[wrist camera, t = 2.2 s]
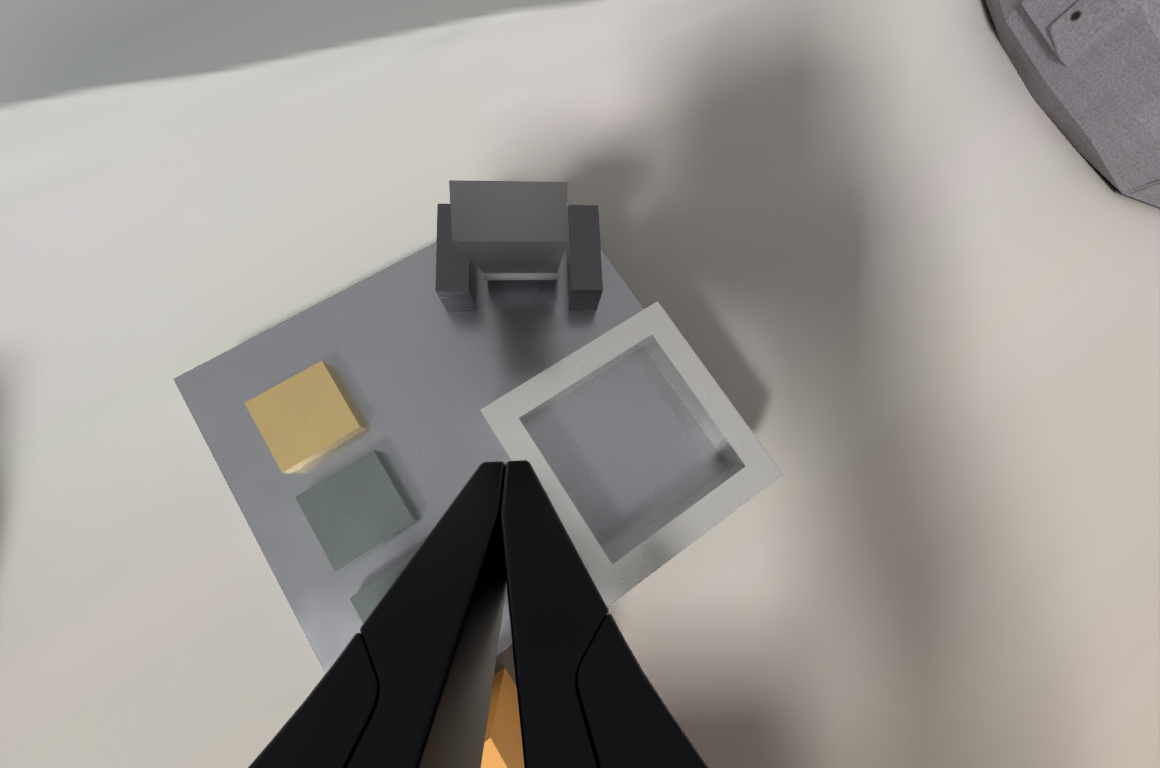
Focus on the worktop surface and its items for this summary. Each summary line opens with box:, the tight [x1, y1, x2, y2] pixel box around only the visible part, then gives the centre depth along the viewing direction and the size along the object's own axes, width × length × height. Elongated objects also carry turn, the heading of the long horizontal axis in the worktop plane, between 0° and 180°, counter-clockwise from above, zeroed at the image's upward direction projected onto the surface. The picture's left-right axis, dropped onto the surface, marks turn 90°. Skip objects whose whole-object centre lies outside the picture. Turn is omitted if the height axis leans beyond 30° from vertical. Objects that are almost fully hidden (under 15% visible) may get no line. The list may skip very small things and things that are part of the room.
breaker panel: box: [174, 202, 782, 674], centre depth 17 cm, size 16×17×4 cm
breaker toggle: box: [449, 181, 568, 280], centre depth 15 cm, size 2×3×8 cm, turn 92°
